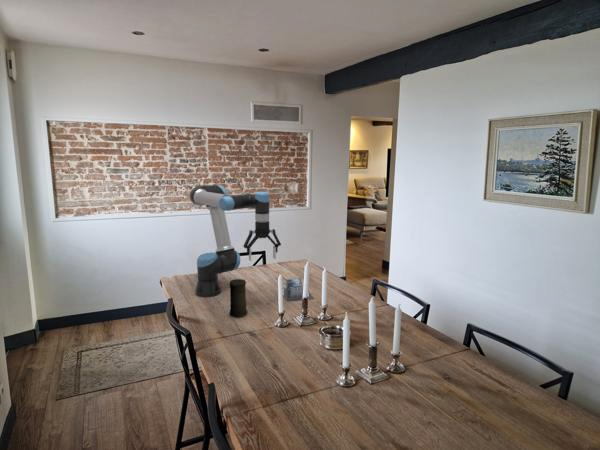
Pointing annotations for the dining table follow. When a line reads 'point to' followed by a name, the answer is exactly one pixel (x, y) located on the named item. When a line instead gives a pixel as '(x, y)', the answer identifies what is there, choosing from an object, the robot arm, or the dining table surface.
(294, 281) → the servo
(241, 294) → the container
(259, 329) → the dining table surface
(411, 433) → the dining table surface
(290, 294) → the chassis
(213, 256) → the robot arm
